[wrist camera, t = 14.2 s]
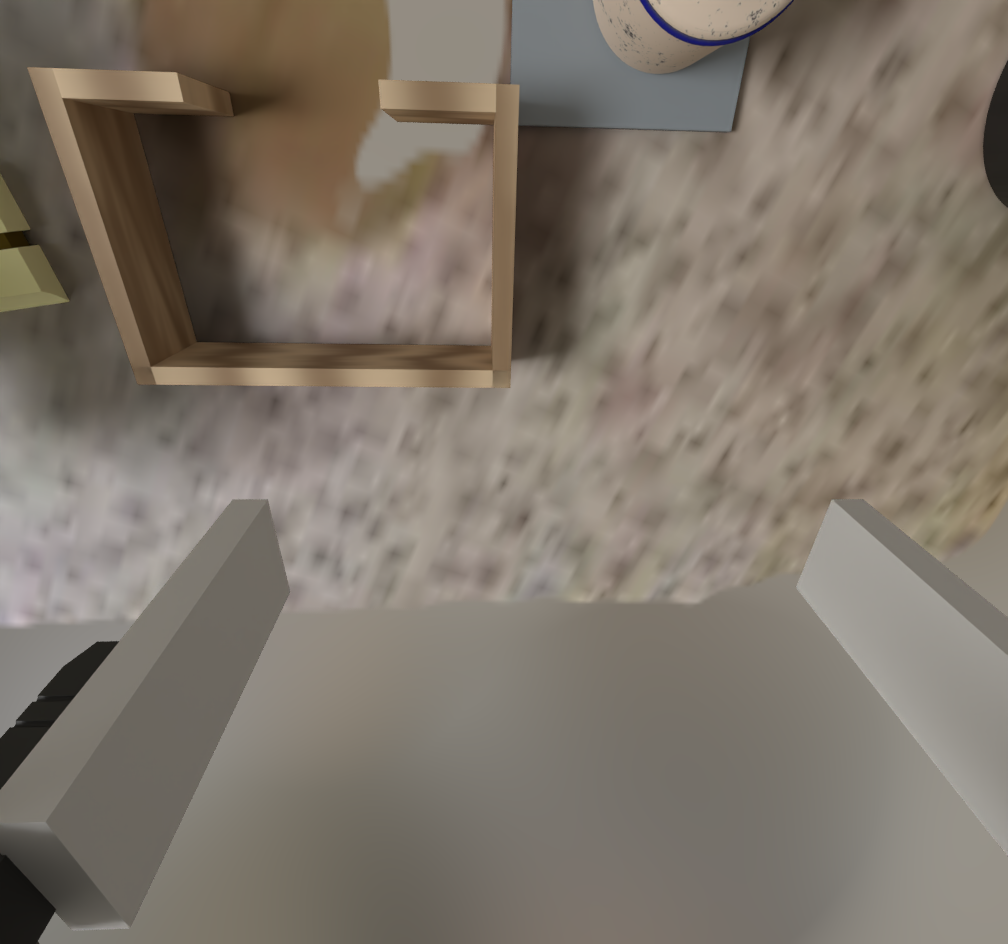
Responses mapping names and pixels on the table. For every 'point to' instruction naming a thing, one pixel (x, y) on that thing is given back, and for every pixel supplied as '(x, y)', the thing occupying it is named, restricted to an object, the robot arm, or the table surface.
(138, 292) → the open enclosure
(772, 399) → the table surface
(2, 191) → the slatted curved stool
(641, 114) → the mat
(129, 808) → the robot arm
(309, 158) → the table surface
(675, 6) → the teacup with lid
